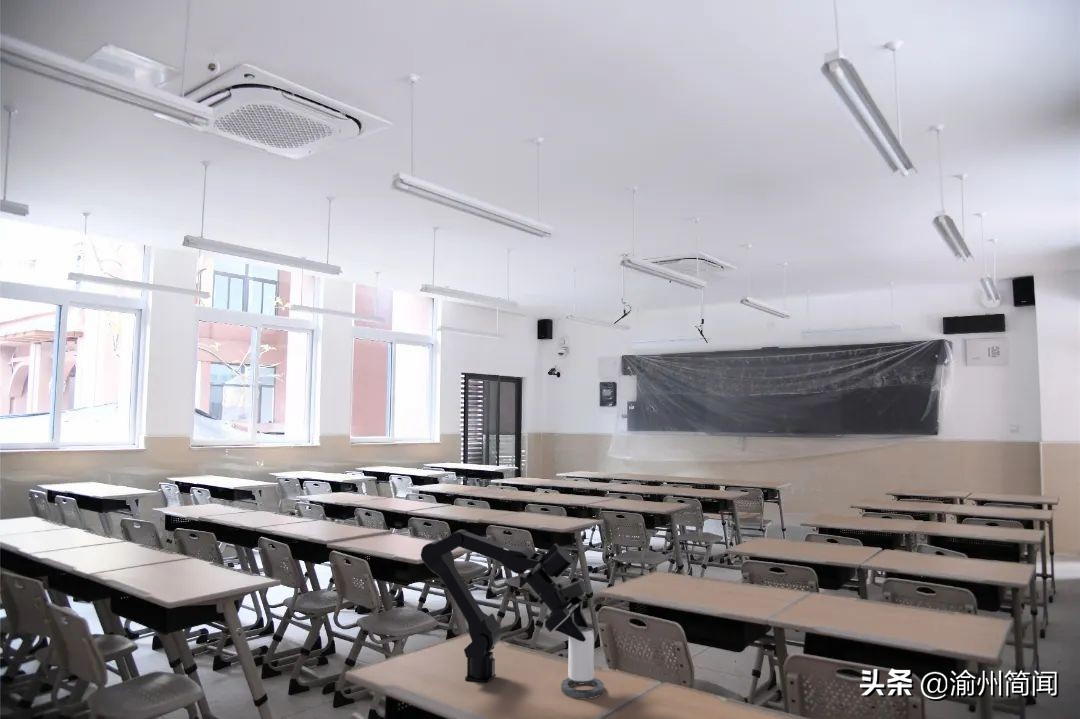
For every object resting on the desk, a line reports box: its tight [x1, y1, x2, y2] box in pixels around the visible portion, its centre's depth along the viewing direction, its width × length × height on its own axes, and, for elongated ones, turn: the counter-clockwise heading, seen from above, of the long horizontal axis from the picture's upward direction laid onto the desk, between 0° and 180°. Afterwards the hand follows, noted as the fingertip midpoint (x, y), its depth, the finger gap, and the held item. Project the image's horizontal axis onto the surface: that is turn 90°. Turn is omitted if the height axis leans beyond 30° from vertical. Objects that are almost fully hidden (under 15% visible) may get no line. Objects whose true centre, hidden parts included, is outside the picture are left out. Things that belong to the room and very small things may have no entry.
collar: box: [560, 677, 605, 699], centre depth 175 cm, size 10×10×2 cm
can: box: [567, 626, 595, 682], centre depth 175 cm, size 6×6×12 cm
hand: (587, 637), depth 176 cm, fingers closed on can, 6 cm apart
